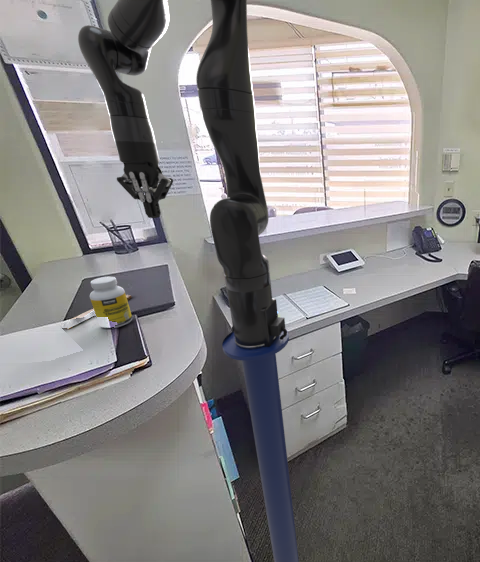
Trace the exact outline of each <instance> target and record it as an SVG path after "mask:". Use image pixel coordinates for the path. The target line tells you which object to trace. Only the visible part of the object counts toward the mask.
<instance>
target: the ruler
mask: <svg viewBox="0 0 480 562" xmlns="http://www.w3.org/2000/svg"><path fill="white" fill-rule="evenodd" d="M126 297H127V301H129V300H131V299H132V298H133V297H132V295H130V294H126ZM93 310H94V308H93V307H92V308H91V309H89V310H87V311H85V312H83V313H81V314H78V315H76V316H74V317H72V318H70V319H69V320H71V319H76V318H83V317H84V316H85V315H87V314H88V313H90V312H91V311H93Z"/></svg>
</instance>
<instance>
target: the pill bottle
mask: <svg viewBox="0 0 480 562" xmlns="http://www.w3.org/2000/svg"><path fill="white" fill-rule="evenodd" d="M90 286H91V288H92V289H93V290H92V291H91V292H90V294H89V300H90V303H91V305H92V309H93V308H94V311H95V314H96V316H97V317H108V319H109V321H112V322H117V323H118V325H115V327H114V328H113V329H118V328H121V327H123V326H125V325H128V324H130V323H131V322H132V320H133V315H132V311H131V308H130V305H129V300H127V297H126V295H127V294H126V291H125V289H124V288H123V287H122V286H120V285H118V281H117V278H116V277H115V276H102V277H97V278H94V279H92V280H91V281H90ZM96 316H95V317H96ZM97 317H96V318H97Z"/></svg>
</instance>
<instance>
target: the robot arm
mask: <svg viewBox="0 0 480 562" xmlns="http://www.w3.org/2000/svg"><path fill="white" fill-rule="evenodd" d="M247 1H248V0H210V6H211V18H212V28H211V34H210V36H209V40H208V42H207V46H206V47H205V49H204V52H203V54H202V56H201V59H200V61H199V64H198V68H197V70H196V77H195V78H196V80H195V81H196V90H197V95H198V102H199V108H200V114H201V118H202V123H203V125H204V128H205V130H206V133H207V135H208V137H209V139H210V141H211V143H212V145H213V148H214V149H215V151H216V153H217V155H218V158H219V160H220V163H221V165H222V169H223V172H224V177H225V187H226V197H224V198H222V199H219V200H218V201H216V203H214V205H213V206H212V208H211V210H210V213H209V224H210V232H211V236H212V242H213V246H214V250H215V254H216V258H217V261H218V263H219V264H220V266H221V267H222V269H223V274H224V275H223V277H224V281H225V282H224V283H225V287H226V293H227V299H228V306H229V312H230V317H231V323H232V326H231V332H233V331H234V336H235V344H236V345H237V346H238V347H240V348H242V349H258V348H262V347H270V346H271V345H272V343H273V342H274V341H275V339H276V338H277V336H278V337H279V336H280V334H281V333H282V331H283V332H284V333H283V335H282V336H281V337H280V339H281V340H283V338H285V337H286V335H287V331H288V330H287V328H286V320H285V317H281V316H280V317H279V315H278V314H279V311H278V303H277V298H273V290H272V282H271V281H272V280H271V271H270V263H269V262H270V261H269V258H268V257H267V256H266V255H264V254H262V249H261V243H260V235H262V234H263V233H264V232H265V231H266V228H267V227H268V225H269V209H268V204H267V200H266V195H265V189H264V185H263V180H262V175H261V167H260V154H259V144H258V143H259V141H258V132H257V131H258V130H257V118H256V105H255V96H254V90H253V82H252V81H253V80H252V75H251V61H250V49H249V47H250V46H249V35H248V34H249V33H248V2H247ZM170 16H171V14H170V4H169V0H117V1H116V3H115V4H114V5H113V7H112V8H111V10H110V11H109V13H108V15H107V25H108V29H104V28H101V27H98V26H94V25H90V24H89V25H87V24H86V25H84V26H81V28H80V30H79V32H78V36H77V42H78V46H79V49H80V53H81V54H82V56H83V57H82V58H84V61H85V62H86V64H87V66H88V68H89V69H90V71H91V73H92V74H93V76H94V78H95V80H96V83H97V84H98V86H99V89H100V91H101V93H102V94H103V97H104V101H105V104H106V109H107V113H108V116H109V122H110V129H111V133H112V136H113V140H114V144H115V148H116V151H117V155H118V159H119V161H120V162H121V163H122V164H123V170H122V171H123V174H122V175H121V176H117V177H116V182H117V183H119V185H120V186H121V187H122V188H123V189H124V190H125V192H127V193H128V195H130V196H131V197H132V198H133V200H139V201H140V202H141V203H142V204H143V209H144V212H145V215H146V216H147V218H148V219H158V218H160V217H161V215H162V214H161V208H160V204H159V202H160V201H161V200H164V199H166V197H167V195H168V193H169V191H170V189H171V188H172V186H173V183H174V180H173V178H172V177H167V176H165V174H163V170H162V169H161V166H159V165H160V164H159V163H160V162H161V160H160V155H159V152H158V146H157V142H156V136H155V133H154V129H153V126H152V123H151V121H150V117H149V112H148V107H147V103H146V99H145V95H144V93H143V92H142V91H141V90H140V89H138V88H136V87H133V86H131V85H129V84H127V83H125V82H123V80H121V78H120V77H119V75H118V74H122V75H127V76H133V77H135V76H140V75H142V74H143V73H145V72H146V70H147V67H148V62H149V60H150V59H149V58H150V55H151V51H152V48H153V47H154V46H155V45H156V44H157V42H158V41H160V39H162V37H163V36H164V35H165V34H166V32H167V30H168V27H169V24H170V18H171V17H170ZM117 73H118V74H117ZM285 328H286V329H285Z"/></svg>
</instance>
